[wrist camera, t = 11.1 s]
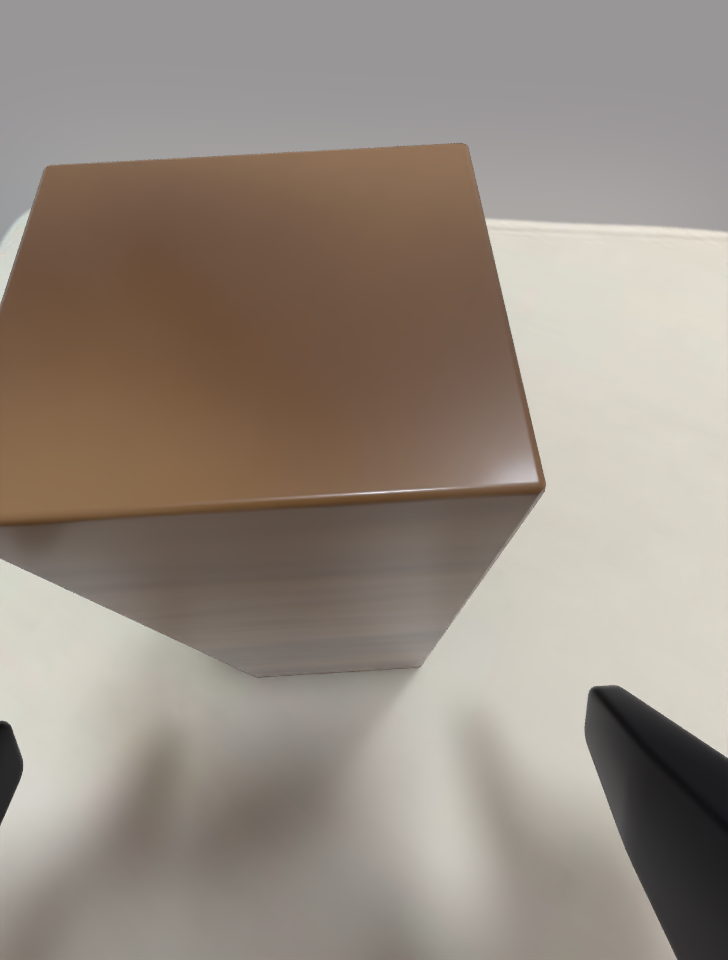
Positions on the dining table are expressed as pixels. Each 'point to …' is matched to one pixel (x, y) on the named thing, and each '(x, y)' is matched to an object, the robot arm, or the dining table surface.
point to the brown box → (265, 401)
